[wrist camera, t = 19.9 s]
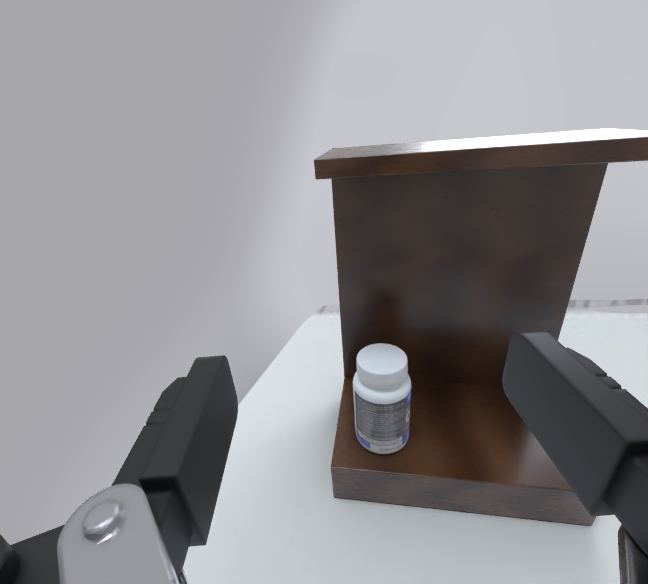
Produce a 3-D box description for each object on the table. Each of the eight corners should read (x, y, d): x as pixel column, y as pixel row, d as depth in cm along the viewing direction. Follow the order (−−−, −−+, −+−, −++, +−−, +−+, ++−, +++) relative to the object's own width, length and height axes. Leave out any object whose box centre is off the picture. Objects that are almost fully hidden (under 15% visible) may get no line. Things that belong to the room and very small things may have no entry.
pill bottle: (418, 449, 28) (423, 371, 25) (364, 461, 28) (361, 383, 24) (396, 407, 33) (398, 335, 29) (349, 417, 32) (345, 345, 28)
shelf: (333, 497, 29) (299, 168, 17) (347, 397, 40) (331, 148, 28) (592, 526, 26) (780, 137, 14) (532, 407, 36) (608, 128, 24)
